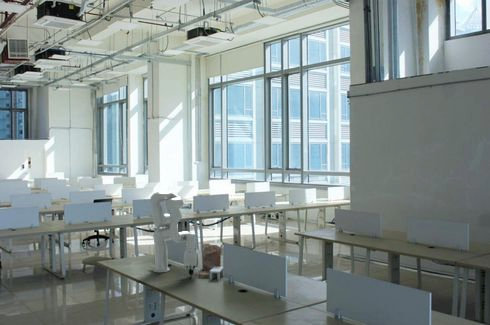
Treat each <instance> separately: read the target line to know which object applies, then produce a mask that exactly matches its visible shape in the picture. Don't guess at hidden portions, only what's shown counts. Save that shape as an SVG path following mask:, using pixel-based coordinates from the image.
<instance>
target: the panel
mask: <svg viewBox="0 0 490 325" xmlns="http://www.w3.org/2000/svg"><path fill="white" fill-rule="evenodd" d="M217 274H218V273H212V279H217ZM197 278H202V279H210V272H208V271H205V270H204V271H203V270H201V271H200V272H199V273H198V277H197Z"/></svg>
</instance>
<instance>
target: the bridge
mask: <svg viewBox="0 0 490 325" xmlns="http://www.w3.org/2000/svg"><path fill="white" fill-rule="evenodd" d="M223 270H224V266H220V267H213V268H212V269H211V270H210V278H209V280H211V281H213V278H212V273H218V274H217V278H216V280H217V281H220V280H221V277H223V276H224V275H223ZM224 271H225V270H224Z"/></svg>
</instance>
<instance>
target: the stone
mask: <svg viewBox="0 0 490 325" xmlns="http://www.w3.org/2000/svg"><path fill="white" fill-rule="evenodd" d="M221 249H222V247H221V246H219V245H218V244H210V243H203V244H202V246H201V261H202V265H201V266H202V270H204V271H206V272H210V270H211V269H212V268H213V267H221V265H222V264H221V262H222V261H221V255H222V250H221Z"/></svg>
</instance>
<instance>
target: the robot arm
mask: <svg viewBox="0 0 490 325" xmlns="http://www.w3.org/2000/svg"><path fill="white" fill-rule="evenodd" d="M149 202H150V203H149V204H150V207H151V210H152V213H151V214H152V220H153V225H154V227H155V228H158V229H157V230H155V231H154V232H153V242H154V264H149V267H150V268H151V269H152V271H153V272H154V273H167V272H170V270H171V269H170V267H169V264H168V263H169V262H168V260H169V259H168V258H169V257H168V256H169V255H168V252H169V250H168V245H167V243H166V242H167V241H171V240H173V242H174V243H175V244H180V243H185V247H184V248H183V250H184V254H183V267H184V268H187V270H188V275H189V276H193V275H194V270H195V269H197V268H199V254H198V251H197V234H196V233H195V232H190V231H187V230H184V231H179V229H178V224H179V222H180V220H182V218H183V214H182V211H181V209H182V208H183V207H184V205H185V204H184V200H183V199H182V198H181V197H180V196H179V195H177V194H175V192H173V191H171V190H167V191H159V192H155V193H153V194H152V195H151V196H150V199H149ZM162 204H165V206H166V209H167V212H168V213H165V212H164V211H165V210H164V208H163V205H162Z"/></svg>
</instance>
